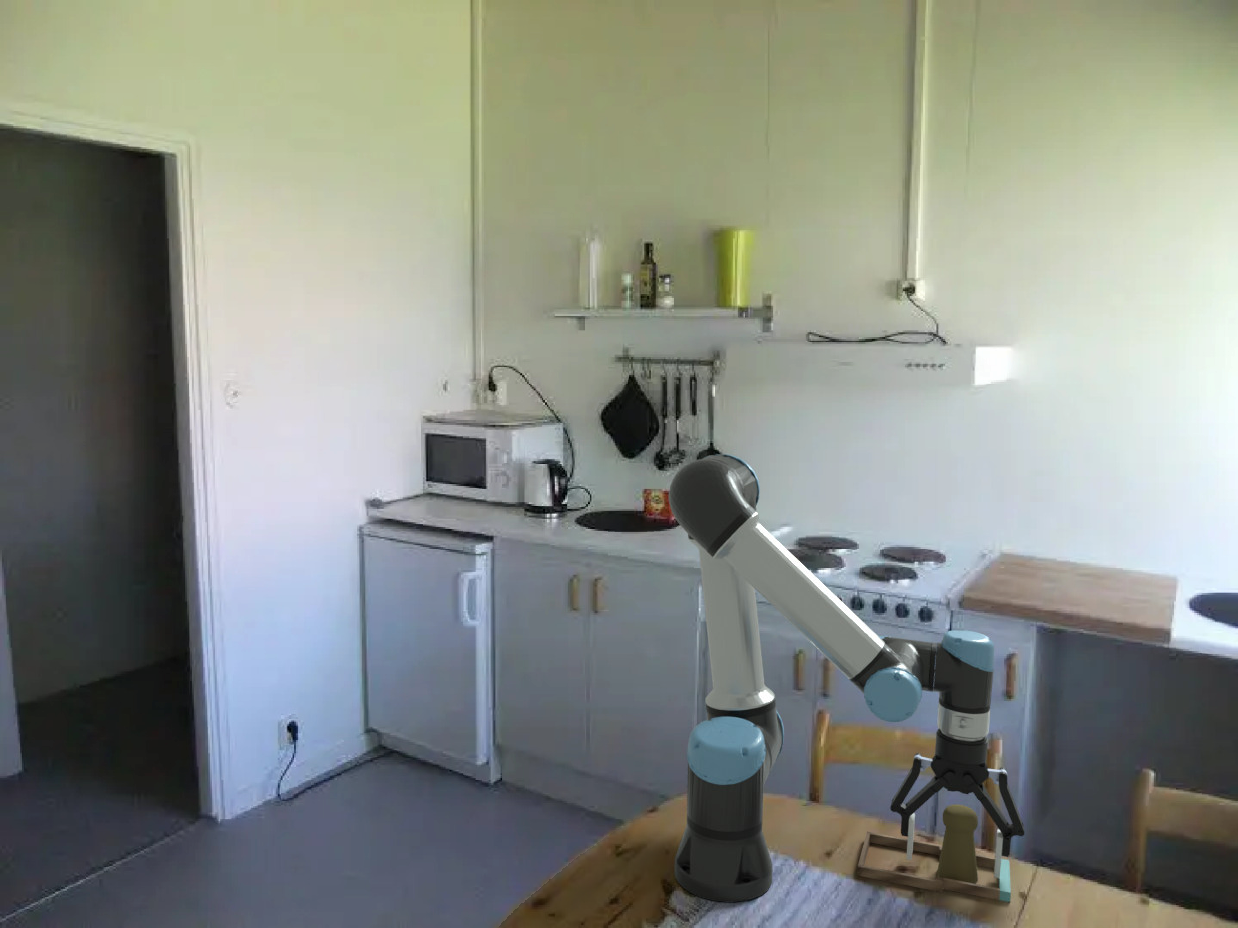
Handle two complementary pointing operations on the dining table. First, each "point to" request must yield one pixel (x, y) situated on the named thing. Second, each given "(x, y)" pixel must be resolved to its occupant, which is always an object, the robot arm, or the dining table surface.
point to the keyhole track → (938, 883)
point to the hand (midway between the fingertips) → (952, 864)
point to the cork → (959, 845)
